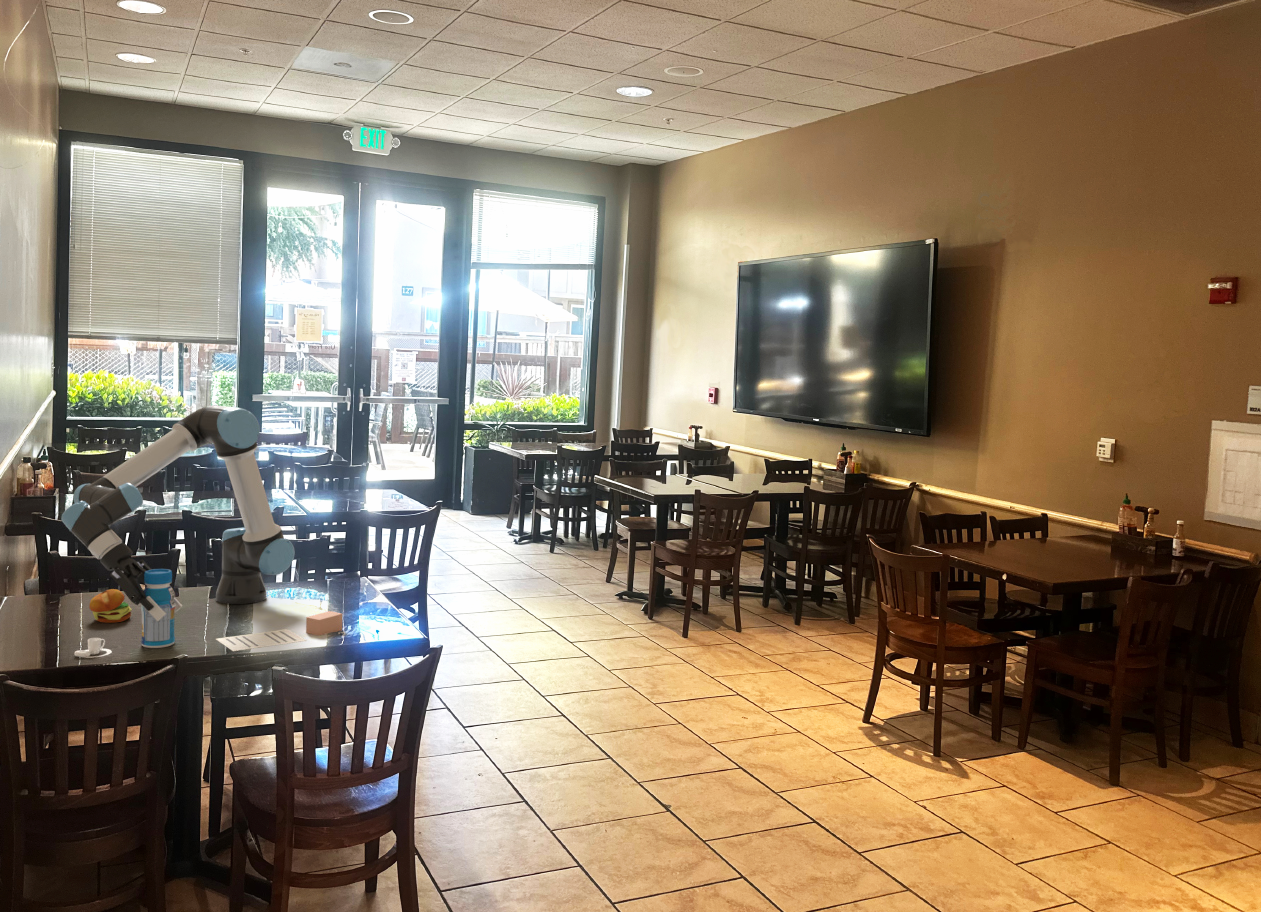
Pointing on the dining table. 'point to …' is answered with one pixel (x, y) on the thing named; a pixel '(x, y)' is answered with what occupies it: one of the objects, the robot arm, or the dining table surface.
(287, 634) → the letter
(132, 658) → the dining table surface
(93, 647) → the teacup and saucer
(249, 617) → the dining table surface
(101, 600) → the cheeseburger
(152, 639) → the beverage bottle
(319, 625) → the block
